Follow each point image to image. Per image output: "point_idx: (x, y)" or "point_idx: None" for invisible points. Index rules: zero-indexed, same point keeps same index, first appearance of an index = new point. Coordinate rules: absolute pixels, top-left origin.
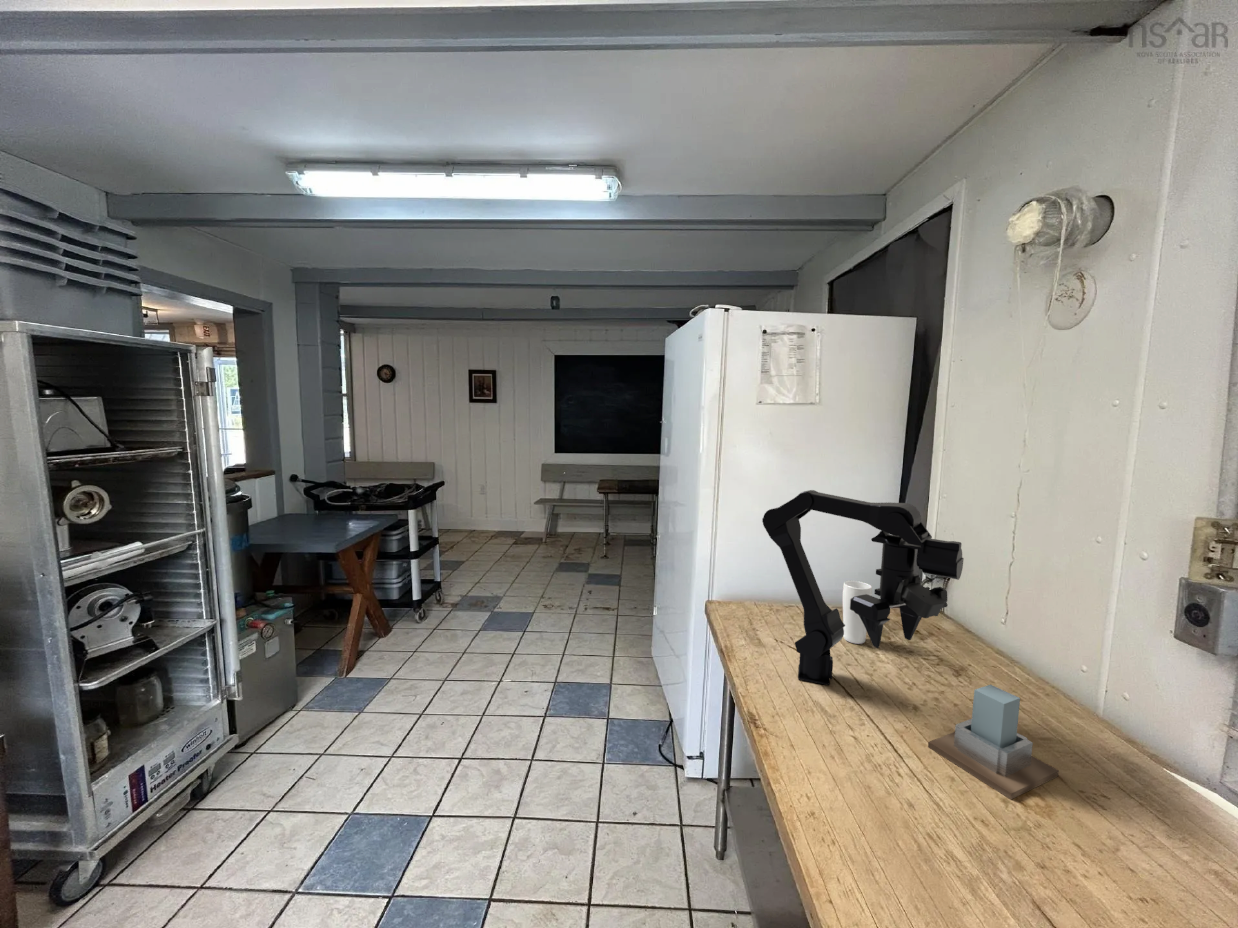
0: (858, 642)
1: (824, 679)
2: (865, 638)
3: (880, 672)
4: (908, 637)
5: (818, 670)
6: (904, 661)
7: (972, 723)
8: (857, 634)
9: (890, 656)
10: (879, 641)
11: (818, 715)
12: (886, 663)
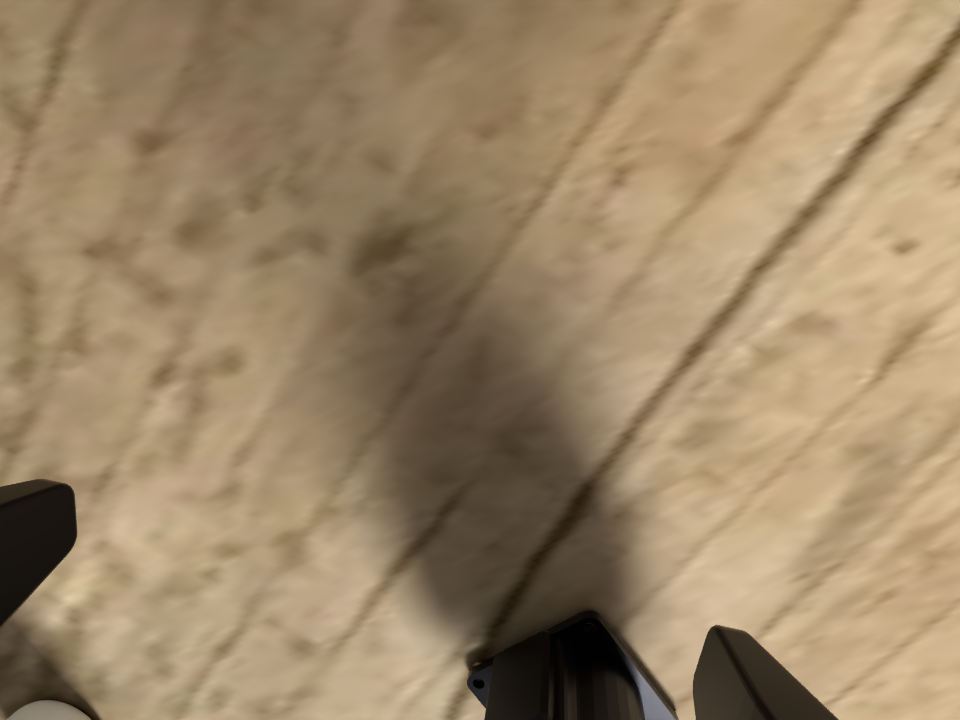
0: (75, 715)
1: (577, 647)
2: (17, 715)
3: (222, 523)
4: (44, 516)
5: (622, 712)
6: None
7: None
8: None
9: None
10: (788, 707)
11: (934, 499)
12: (114, 547)
